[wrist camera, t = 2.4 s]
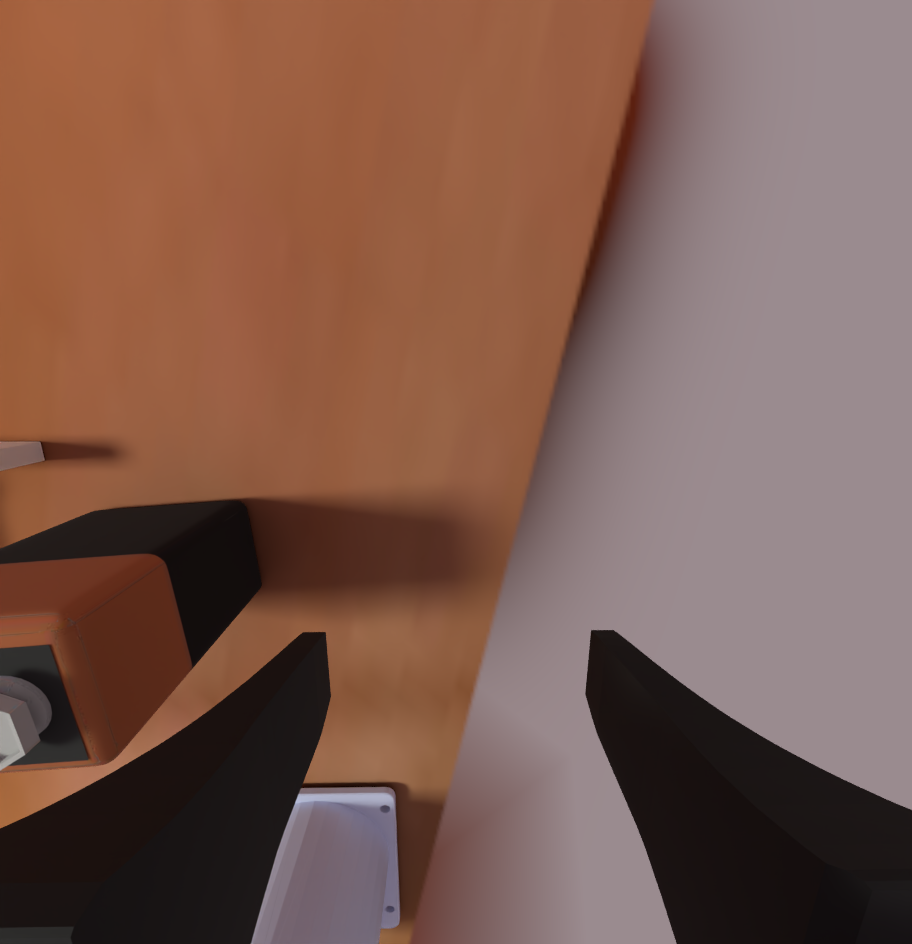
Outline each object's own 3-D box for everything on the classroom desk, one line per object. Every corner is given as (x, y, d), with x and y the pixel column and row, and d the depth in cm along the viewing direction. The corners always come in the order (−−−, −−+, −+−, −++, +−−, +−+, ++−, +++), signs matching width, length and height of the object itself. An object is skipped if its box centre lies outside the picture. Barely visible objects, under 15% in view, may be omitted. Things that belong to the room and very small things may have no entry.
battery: (267, 587, 19) (85, 811, 10) (117, 598, 19) (-216, 833, 10) (249, 496, 18) (23, 642, 9) (91, 507, 18) (-314, 667, 9)
